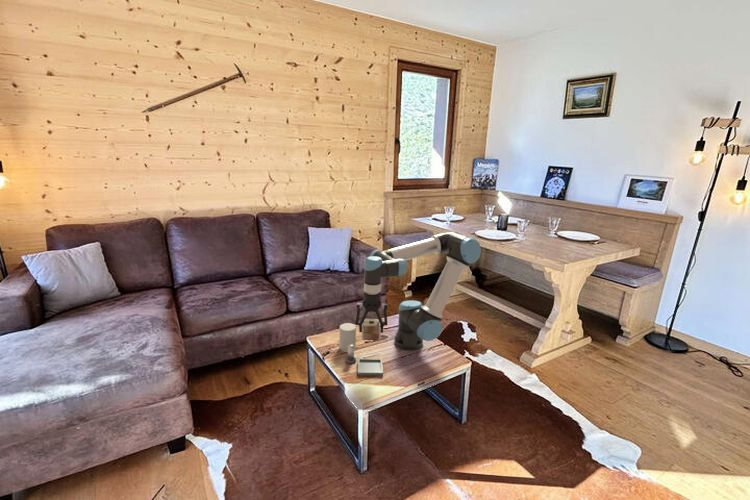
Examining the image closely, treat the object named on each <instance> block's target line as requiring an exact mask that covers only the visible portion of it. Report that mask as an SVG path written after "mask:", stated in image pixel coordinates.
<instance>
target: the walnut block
mask: <svg viewBox="0 0 750 500" xmlns="http://www.w3.org/2000/svg"><path fill="white" fill-rule="evenodd" d="M363 324H364V330H363V340H362V341H380V340H379V324H380V322H379V320H378V318H365V320H364V322H363Z"/></svg>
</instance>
